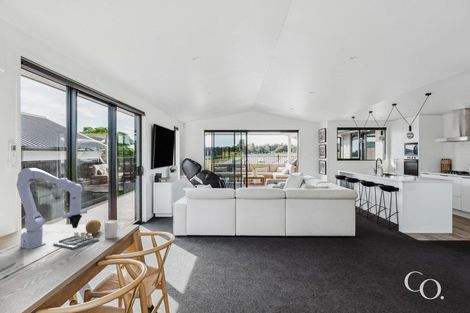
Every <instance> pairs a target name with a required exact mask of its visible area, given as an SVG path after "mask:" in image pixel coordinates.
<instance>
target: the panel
mask: <svg viewBox="0 0 470 313" xmlns="http://www.w3.org/2000/svg"><path fill="white" fill-rule="evenodd" d="M79 236H81V234H79V231H74V232H73V234H72V236H68V237H66V238H63V239H59V240H58V242H54V243H53V246H55V247H61V248H66V249H70V250H76V249H79V248H82V247H85V246H88V245H90V243H91V244H93V242H94V243H96V242H98V241H100V239H99V238H95V237H94V236H93V235H92V234H88V233H87V235H86V238H83V239H79Z"/></svg>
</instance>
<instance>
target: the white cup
mask: <svg viewBox="0 0 470 313" xmlns="http://www.w3.org/2000/svg"><path fill="white" fill-rule="evenodd" d="M118 227H119V221H118V220H117V219H109V220H105V221H104V237H105V239H110V238H111V239H115V238H117V237H116V236H118V235H117V234H118ZM114 237H115V238H114Z"/></svg>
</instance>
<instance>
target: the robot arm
mask: <svg viewBox="0 0 470 313" xmlns="http://www.w3.org/2000/svg"><path fill="white" fill-rule="evenodd" d="M36 179H43V180H45V181H48V182H51V183H53V184H55V185H56V187H57V188H60V189H61V190H64V191H67V192H69V212H67V213H66V212H65V213H62V218H63V219H66V218H68V219H69V221H70V222H71V226H72V228H73V229H77V228H78V226H79V222H80V221H81V218H82V217H83V215H84V214H88V210H87V209H82V191H83V189H84V188H83V185H82V184H80V183H76V182H75V181H71V180H69V179H68V178H67V177H61V178H58V177H57V176H56V175H55V176H54V175H52V174H50V173H48V172H46V171H44V170H42V169H39V168H37V167H29V168H23V169H21V170H20V171H19V172H18V173H17V181H16V188H17V192H18V195H19V198H20V200H21V203H22V207H23V209H24V213H25V218H24V222H25V223H24V228H25V230H26V231H24V232H22V233H21V235H20V246H19V248H22V249H25V250H26V249H27V250H30V249H34V248H38V247H41V246H43V245H46V244H47V243H46V242H43V231H44V230H43V229H44V228H43V226H44V224H45V218H44V217H43V216H42V215H41V213H40V212H39V211H38V209H37V206H36V203H35V199H34V197H33V193H32V190H31V187H30V185H31V184H32V183H33V181H34V180H36Z"/></svg>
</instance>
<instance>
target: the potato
mask: <svg viewBox="0 0 470 313" xmlns="http://www.w3.org/2000/svg"><path fill="white" fill-rule="evenodd" d="M101 227H102V224H101V222H100V220H97V219H93V220H92V219H91V220H90V221H88V222H87V223H86V224H85V232H86V233H87V234H92V236H94V235H96V234H97V233H98V232H99V231H100V230H101Z"/></svg>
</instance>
